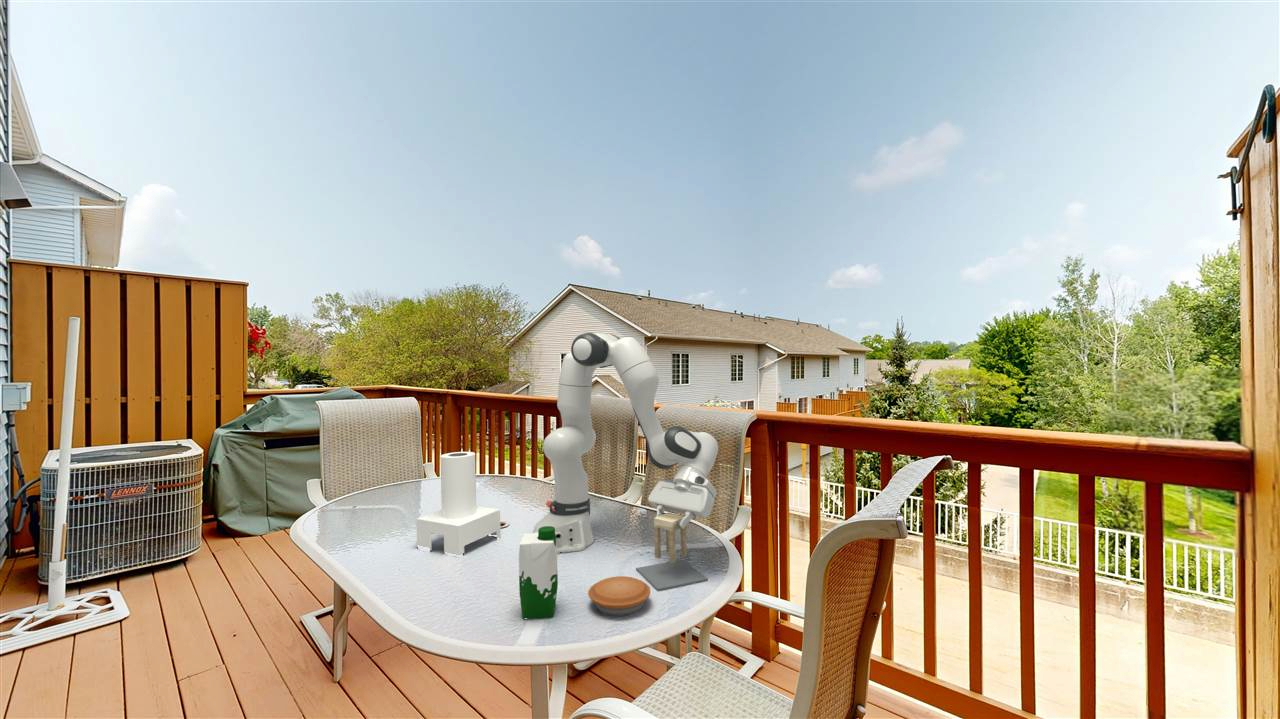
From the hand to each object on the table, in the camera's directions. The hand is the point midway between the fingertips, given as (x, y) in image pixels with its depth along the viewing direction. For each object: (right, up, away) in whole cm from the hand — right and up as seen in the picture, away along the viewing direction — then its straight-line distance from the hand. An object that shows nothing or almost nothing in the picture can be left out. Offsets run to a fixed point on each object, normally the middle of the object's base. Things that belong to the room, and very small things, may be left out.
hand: (668, 524), depth 143 cm
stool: (+1, -9, 0) cm, 9 cm away
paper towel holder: (-69, -16, +29) cm, 76 cm away
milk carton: (-32, -15, -19) cm, 41 cm away
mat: (+1, -14, 0) cm, 14 cm away
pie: (-13, -15, -16) cm, 26 cm away
